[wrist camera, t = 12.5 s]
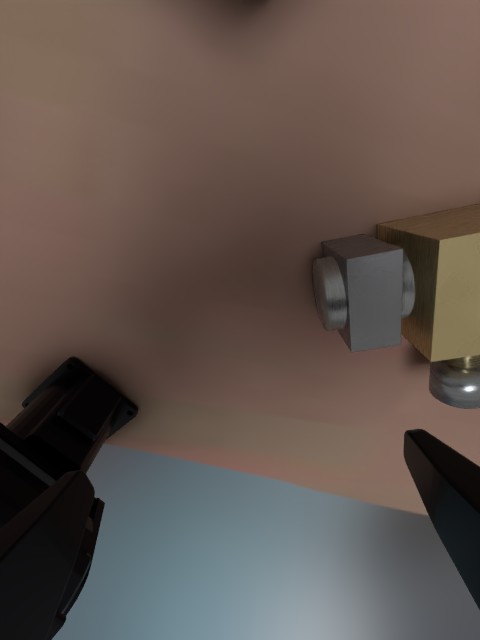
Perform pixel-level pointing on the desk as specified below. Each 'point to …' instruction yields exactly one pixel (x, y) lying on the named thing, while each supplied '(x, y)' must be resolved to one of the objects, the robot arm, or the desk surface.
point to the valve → (407, 286)
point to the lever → (455, 385)
